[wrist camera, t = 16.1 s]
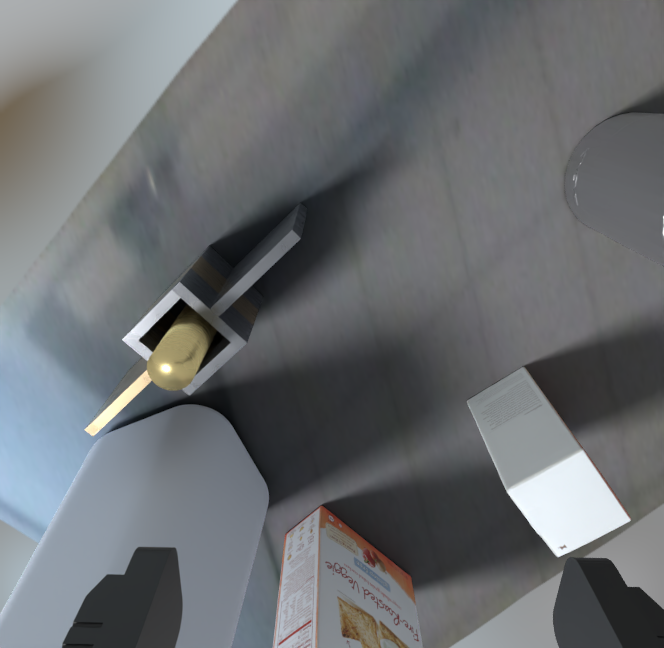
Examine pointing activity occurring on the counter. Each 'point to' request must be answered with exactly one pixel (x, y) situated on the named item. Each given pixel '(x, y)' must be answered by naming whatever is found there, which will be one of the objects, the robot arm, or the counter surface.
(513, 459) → the small box
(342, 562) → the cracker box
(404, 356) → the counter surface
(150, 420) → the plastic bottle
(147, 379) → the hinge
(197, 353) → the hinge pin
